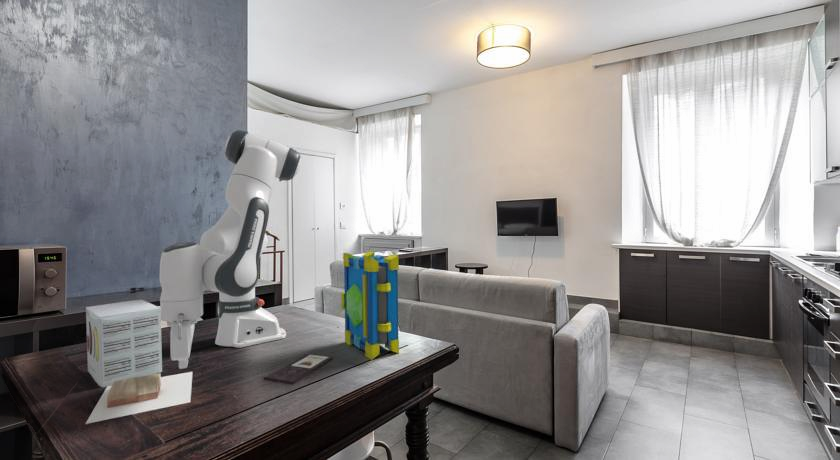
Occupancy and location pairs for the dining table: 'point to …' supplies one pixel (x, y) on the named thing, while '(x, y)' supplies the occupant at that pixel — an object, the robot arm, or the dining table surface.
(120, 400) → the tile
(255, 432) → the dining table surface
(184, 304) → the robot arm
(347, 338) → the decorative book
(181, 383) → the mat
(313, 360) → the chocolate bar
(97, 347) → the supplement box
